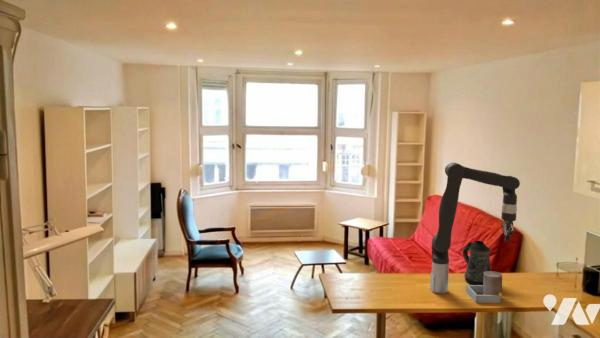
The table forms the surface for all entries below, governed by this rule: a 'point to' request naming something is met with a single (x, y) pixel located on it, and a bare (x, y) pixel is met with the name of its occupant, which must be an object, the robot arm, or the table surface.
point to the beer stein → (476, 262)
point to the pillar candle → (492, 283)
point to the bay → (475, 289)
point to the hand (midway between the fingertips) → (507, 241)
